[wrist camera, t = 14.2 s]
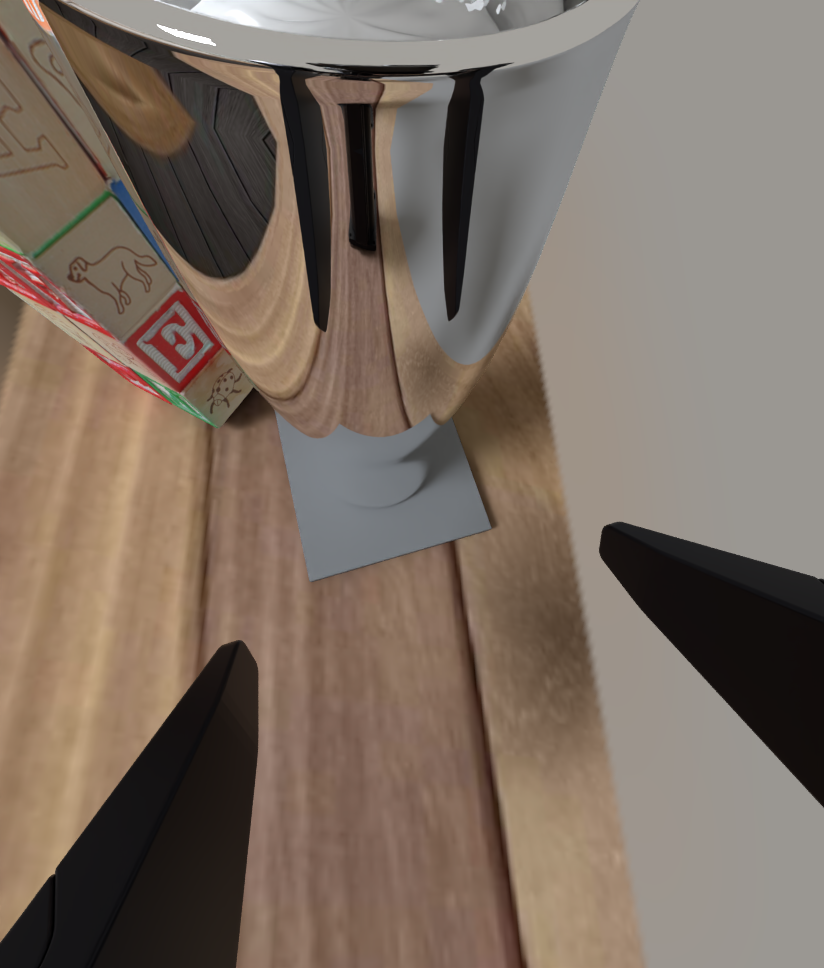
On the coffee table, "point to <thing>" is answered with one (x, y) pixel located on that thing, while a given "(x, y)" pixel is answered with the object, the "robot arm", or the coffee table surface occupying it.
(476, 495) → the charcoal mat
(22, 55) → the stack of blocks
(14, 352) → the coffee table surface
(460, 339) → the chrome tapered cup
